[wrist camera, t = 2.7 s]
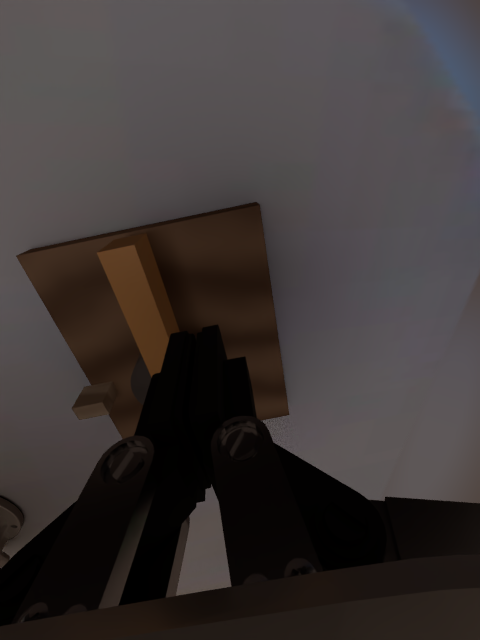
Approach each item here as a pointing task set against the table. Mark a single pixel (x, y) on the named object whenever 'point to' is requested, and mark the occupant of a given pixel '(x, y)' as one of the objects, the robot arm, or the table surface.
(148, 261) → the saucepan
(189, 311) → the wooden board with lever
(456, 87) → the table surface
